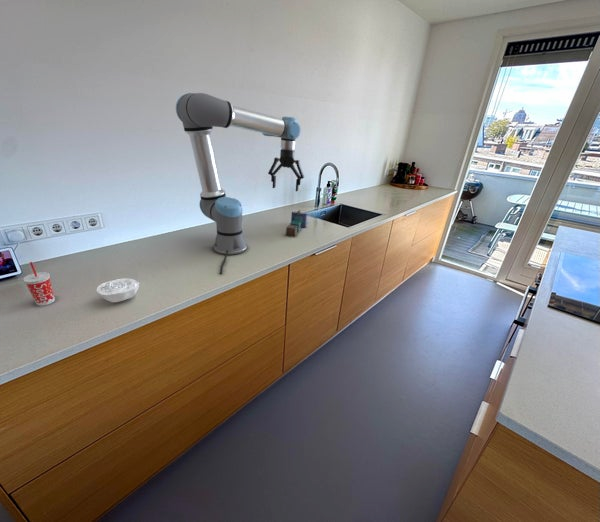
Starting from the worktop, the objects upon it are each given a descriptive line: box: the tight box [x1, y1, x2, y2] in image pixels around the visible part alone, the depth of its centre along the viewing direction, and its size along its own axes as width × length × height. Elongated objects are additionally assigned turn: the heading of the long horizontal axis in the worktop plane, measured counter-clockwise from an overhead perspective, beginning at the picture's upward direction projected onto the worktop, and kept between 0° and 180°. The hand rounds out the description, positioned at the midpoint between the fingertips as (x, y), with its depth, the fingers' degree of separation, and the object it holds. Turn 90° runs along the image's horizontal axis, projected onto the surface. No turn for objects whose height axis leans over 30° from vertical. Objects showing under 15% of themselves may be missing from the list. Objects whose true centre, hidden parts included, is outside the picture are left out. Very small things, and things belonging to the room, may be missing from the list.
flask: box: [290, 209, 308, 229], centre depth 170 cm, size 9×3×11 cm, turn 87°
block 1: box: [289, 221, 302, 234], centre depth 165 cm, size 5×5×5 cm
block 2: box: [285, 224, 298, 238], centre depth 158 cm, size 5×5×5 cm
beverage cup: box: [22, 261, 56, 307], centre depth 88 cm, size 6×6×14 cm
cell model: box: [96, 277, 140, 304], centre depth 94 cm, size 10×12×7 cm
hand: (285, 189), depth 162 cm, fingers open, 13 cm apart
